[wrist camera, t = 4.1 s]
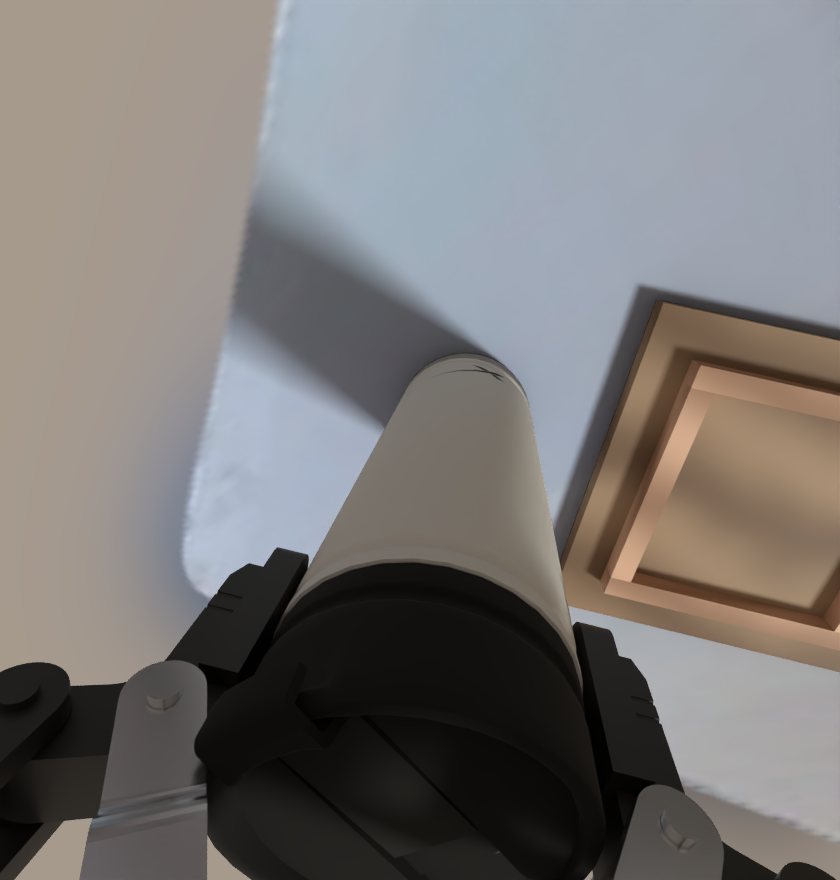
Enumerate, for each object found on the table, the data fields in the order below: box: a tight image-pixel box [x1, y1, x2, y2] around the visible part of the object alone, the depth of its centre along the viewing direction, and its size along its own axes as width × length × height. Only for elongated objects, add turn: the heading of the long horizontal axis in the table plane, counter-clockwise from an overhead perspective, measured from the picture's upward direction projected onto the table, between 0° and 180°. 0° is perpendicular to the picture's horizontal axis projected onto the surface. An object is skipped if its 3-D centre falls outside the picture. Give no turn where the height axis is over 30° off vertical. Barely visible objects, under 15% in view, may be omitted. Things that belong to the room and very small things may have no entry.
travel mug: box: [194, 353, 606, 880], centre depth 16 cm, size 6×7×20 cm
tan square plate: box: [560, 300, 840, 672], centre depth 24 cm, size 16×16×2 cm
